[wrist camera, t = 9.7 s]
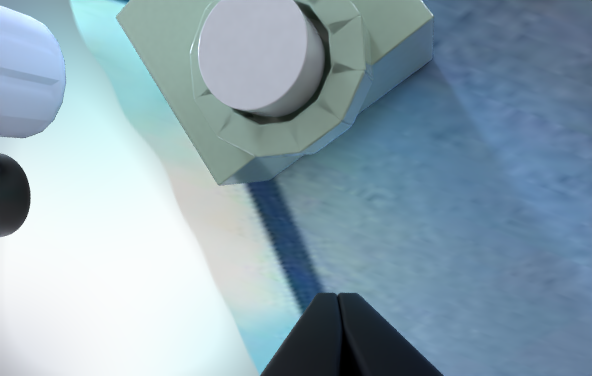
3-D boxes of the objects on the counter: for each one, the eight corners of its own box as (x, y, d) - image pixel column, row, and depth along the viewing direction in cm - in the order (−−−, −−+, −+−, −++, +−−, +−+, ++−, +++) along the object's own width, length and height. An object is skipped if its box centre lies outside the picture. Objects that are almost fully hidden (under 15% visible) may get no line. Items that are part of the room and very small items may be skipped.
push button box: (450, 81, 18) (463, 30, 11) (282, 201, 22) (212, 219, 15) (324, -87, 20) (266, -223, 13) (186, 50, 23) (82, 1, 16)
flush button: (346, 71, 13) (332, 55, 11) (262, 138, 14) (236, 134, 12) (286, -15, 14) (262, -44, 12) (210, 57, 15) (178, 42, 13)
